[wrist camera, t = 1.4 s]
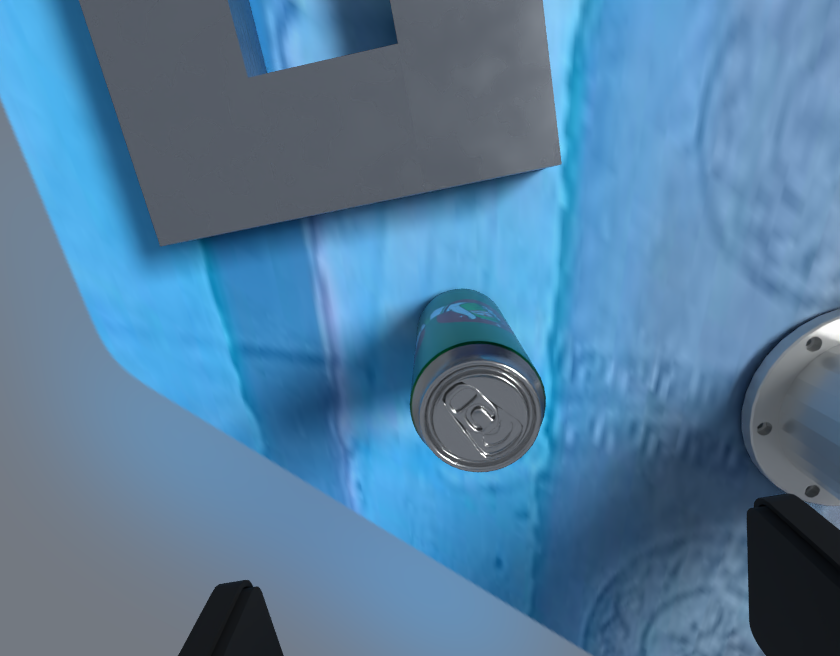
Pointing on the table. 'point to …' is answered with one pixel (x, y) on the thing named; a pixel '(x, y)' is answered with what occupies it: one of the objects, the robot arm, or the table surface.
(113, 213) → the table surface
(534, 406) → the soda can
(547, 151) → the bore block
